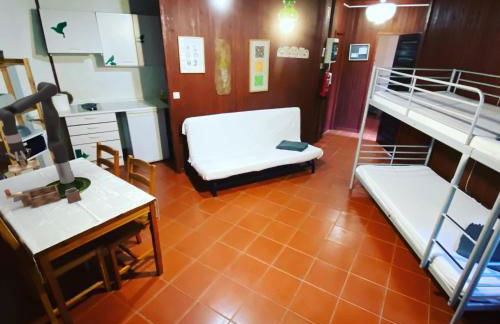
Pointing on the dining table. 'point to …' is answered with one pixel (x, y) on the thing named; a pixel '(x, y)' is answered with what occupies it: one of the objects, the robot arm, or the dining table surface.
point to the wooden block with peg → (9, 195)
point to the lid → (23, 165)
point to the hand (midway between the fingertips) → (23, 164)
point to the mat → (26, 192)
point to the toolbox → (41, 196)
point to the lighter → (72, 195)
